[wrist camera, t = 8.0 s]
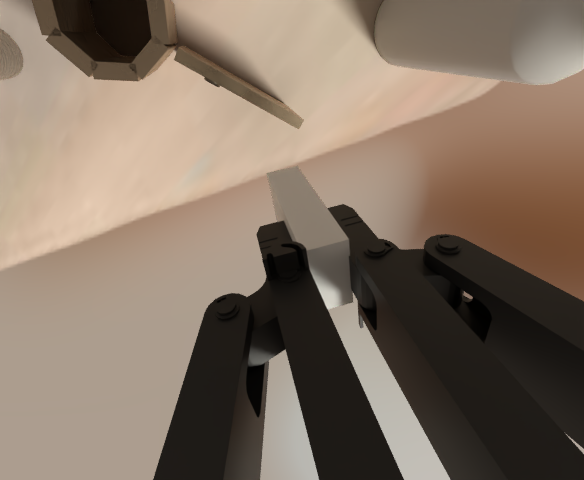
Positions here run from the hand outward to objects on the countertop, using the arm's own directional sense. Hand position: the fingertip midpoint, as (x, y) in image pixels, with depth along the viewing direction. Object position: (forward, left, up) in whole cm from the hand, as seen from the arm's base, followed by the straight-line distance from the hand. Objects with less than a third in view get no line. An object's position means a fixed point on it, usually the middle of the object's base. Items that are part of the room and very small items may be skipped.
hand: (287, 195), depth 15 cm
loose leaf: (-1, -3, -18) cm, 18 cm away
